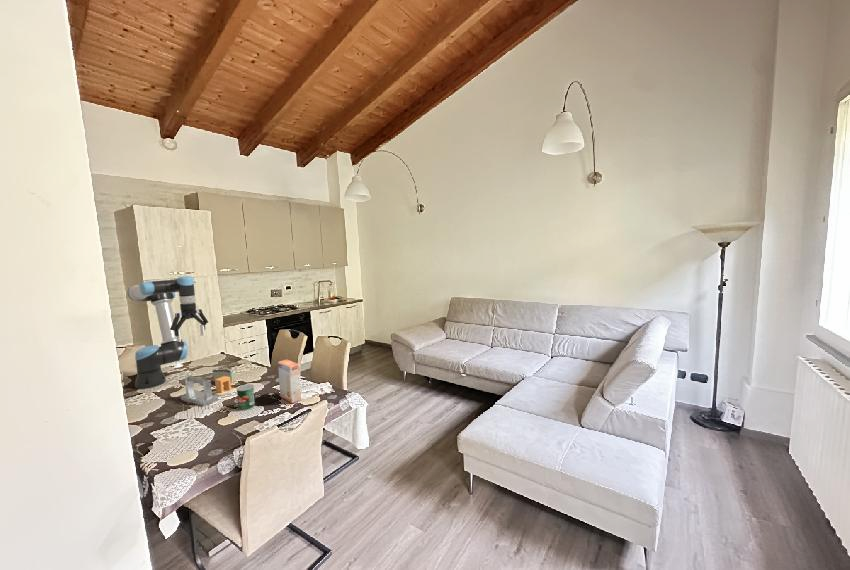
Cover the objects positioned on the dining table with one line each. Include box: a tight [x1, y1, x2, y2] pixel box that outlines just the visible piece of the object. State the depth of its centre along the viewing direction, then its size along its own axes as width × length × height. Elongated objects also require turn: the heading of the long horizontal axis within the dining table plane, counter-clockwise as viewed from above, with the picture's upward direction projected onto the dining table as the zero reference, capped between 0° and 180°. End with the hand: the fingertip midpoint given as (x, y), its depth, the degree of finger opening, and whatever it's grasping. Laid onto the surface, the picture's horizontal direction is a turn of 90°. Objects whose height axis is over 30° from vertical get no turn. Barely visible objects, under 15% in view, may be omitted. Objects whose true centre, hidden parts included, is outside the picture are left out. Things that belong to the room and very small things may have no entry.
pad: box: [212, 386, 237, 397], centre depth 204 cm, size 10×10×1 cm
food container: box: [211, 365, 234, 386], centre depth 216 cm, size 12×6×10 cm, turn 84°
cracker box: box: [277, 359, 302, 404], centre depth 192 cm, size 14×6×21 cm, turn 48°
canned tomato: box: [236, 384, 256, 412], centre depth 183 cm, size 8×8×11 cm
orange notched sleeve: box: [214, 376, 232, 393], centre depth 203 cm, size 5×6×8 cm
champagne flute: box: [171, 361, 184, 369], centre depth 246 cm, size 7×7×24 cm
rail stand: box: [180, 375, 219, 407], centre depth 192 cm, size 20×8×12 cm, turn 65°
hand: (191, 338), depth 203 cm, fingers open, 13 cm apart
